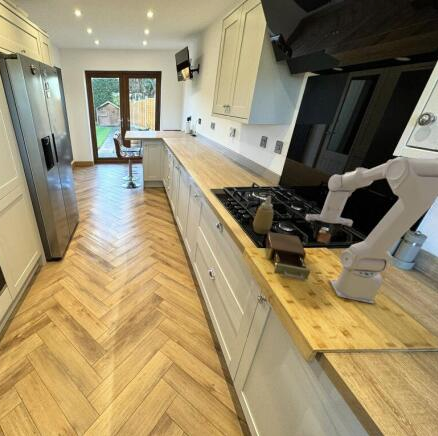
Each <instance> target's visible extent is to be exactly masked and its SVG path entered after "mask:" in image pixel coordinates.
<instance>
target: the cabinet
mask: <svg viewBox="0 0 438 436" xmlns="http://www.w3.org/2000/svg"><path fill="white" fill-rule="evenodd" d="M264 245H265V249H266V253H267V258H268V261H271V262H272V261H273V262H274V260H273V252H274V250H276V251H281V252H287V253H293V254H299V255H301V256H302V258H303V261H304V262H305V259H306V256H307V252H306V250H305V248H304V246H303V243H302V241H301V239H300V237H299V236H297V235H291V234H285V233H279V232H272V231H268V232H267V234H266V238H265V242H264Z"/></svg>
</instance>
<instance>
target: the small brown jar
mask: <svg viewBox="0 0 438 436" xmlns="http://www.w3.org/2000/svg"><path fill="white" fill-rule="evenodd" d="M327 232H328V231H327V230H326V229H325V228H323V227H322V228H321V230H320V232H319V235H318V237H317V239H316V241H317V242H320V243H325V244H328V243H329V241H330V240H331V239H330V237H331V234H329V233H327ZM331 238H332V237H331ZM329 239H330V240H329Z"/></svg>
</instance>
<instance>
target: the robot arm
mask: <svg viewBox="0 0 438 436" xmlns="http://www.w3.org/2000/svg"><path fill="white" fill-rule="evenodd" d="M383 179H386V180H387V183H388V185H389V187H390V189H391V191H392V193H393V194H394V195H395V196H397V197H398V199H397V201H396V202H395V203H394V204H393V205H392V207H391V208H390V209H389V210H388V211H387V212H386V213H385V215H384V216H383V217H382V219H380V221H379V222H378V223H377V225H376V226H375V227H374V228H373V229H372V231H371V232H370V233H369V234H368V236H367V237H366V238H365V239H364V240H363V241H360V242H356V243H354V244H351V245H350V246H349V247H348V248H346V249H344V250H342V252H341V253H340V257H339V259H340V264H341V265H342V269H341V271H340V273H339V275H338V277H337V279H336V280H334V279H330V280H329V282H330V284H331V286H332V288H333V289H334V292H335V293H336V295H337V296H338V297H340V298H345V299H349V300H353V301H359V302H364V303H368V304H374V303H375V302H374V299H375V298H376V297H377V294H378V292H379V291H380V290H381V287H382V284H383V278H382V275H381V274H380V273H383V272H384V271H386V270H387V269H388V267H389V263H390V261H391V260H392V259H393V256H392V254H391V252H390V249H391V248H392V247H393V246H394V245H395V244H396V243H397V242H398V241H399V240H400V239H401V238H402V237H403V236H404V235H405V234H406V233H407V232H408V230H410V228H412V227H413V225H415V224H416V222H417V221H418V220H419V219H420V218H421V217H422V216H424V214H425V213H426V212H427V211H428V210H429V209H430V208H431V207H432V206H433V204H435V202H436V200H437V198H438V157H435V158H423V157H422V158H421V157H406V156H398V157H395V158H393V159H389V160H387V161H386V162H385V163H382V164H380V165H377V166H375V167H372V168H370V169H368V168H364V167H356V168H355V170H354V171H353V170H352V171H347V172H345V173H344V174H333V175H331V177H329V180H328V183H327V187H328V190H329V191H328V193H327V196H326V199H325V201H324V205H323V207H322V210H321V213H320V214H317V213H316V214H315V213H313V214H311V213H306V215H305V217H304V218H305V220H306V221H312V226H313V239H314V240H317V238H318V235H319V232H320V230H321V228H322V229H323V228H324V225H323V223H326V224H327V223H328V224H329V226H328V229H327V231H326V232H327V233H329V234H331V237H330V239H329V241H330V240H331V239H332V237H334V236H335V234H337V233H338V232H339V231H341V230H342V229H343V225H344V226H347V227H352V226H353V223H354V221H353V220H352V219H350V218H343V217H341V215H342V213H343V210H344V207H345V205H346V203H347V200H348V198H349V197H351V196H352V193H353V192H355V191H356V190H357V189H360V188H364V187H368V186H370V185H372V183H374V181H377V180H383Z"/></svg>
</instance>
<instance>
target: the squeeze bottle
mask: <svg viewBox="0 0 438 436" xmlns="http://www.w3.org/2000/svg"><path fill="white" fill-rule="evenodd" d="M271 201H272V197H271V196H270V195H269V196H267V197H266V199H265V201H264V202H262V203H261V206H259V207H258V208H257V211H256V214H255V216H254V219H253V222H252V227H253V231H254V233H256V234H259V235H267V234H268V232H270V230H271V228H272V225H273V219H274V213H275V212H274V211H275V210H274V209H273V207H274V205H273V204H272V203H271Z"/></svg>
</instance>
